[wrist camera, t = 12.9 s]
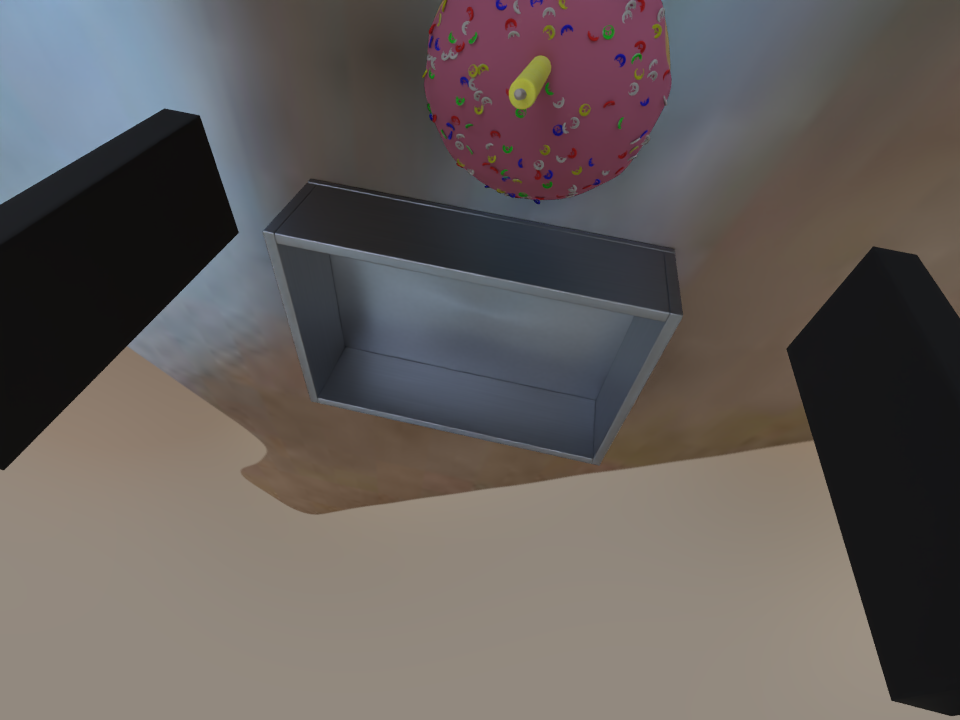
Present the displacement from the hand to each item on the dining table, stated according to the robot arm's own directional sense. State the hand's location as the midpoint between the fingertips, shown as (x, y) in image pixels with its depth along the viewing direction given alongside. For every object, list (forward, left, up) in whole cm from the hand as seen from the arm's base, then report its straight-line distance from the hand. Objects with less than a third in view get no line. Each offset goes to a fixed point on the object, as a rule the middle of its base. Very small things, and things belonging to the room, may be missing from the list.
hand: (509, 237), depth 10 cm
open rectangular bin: (+2, +15, -15) cm, 21 cm away
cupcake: (0, 0, -15) cm, 15 cm away
